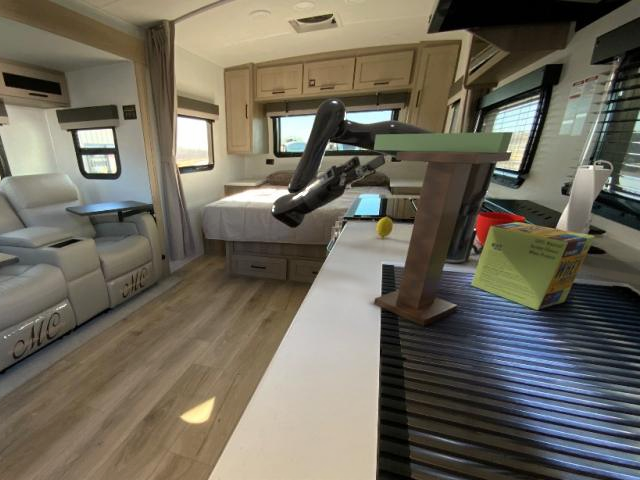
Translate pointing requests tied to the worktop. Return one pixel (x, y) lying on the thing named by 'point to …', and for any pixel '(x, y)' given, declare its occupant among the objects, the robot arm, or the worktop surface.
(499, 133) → the sage bar
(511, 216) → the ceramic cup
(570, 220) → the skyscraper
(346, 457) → the worktop surface
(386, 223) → the lemon
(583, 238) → the protein box
